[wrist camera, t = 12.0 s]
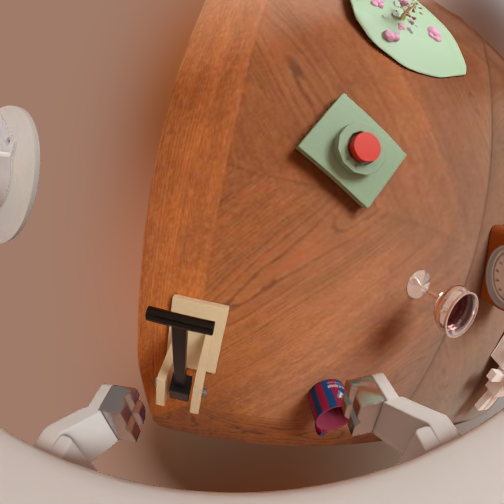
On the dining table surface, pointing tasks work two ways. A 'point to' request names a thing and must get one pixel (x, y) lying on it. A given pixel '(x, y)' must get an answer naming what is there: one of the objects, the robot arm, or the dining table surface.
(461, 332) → the wineglass
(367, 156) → the button
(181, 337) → the lever
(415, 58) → the plant
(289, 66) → the dining table surface
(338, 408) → the mug
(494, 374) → the white voxel figure
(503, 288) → the alarm clock
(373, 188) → the button box
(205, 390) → the bracket
